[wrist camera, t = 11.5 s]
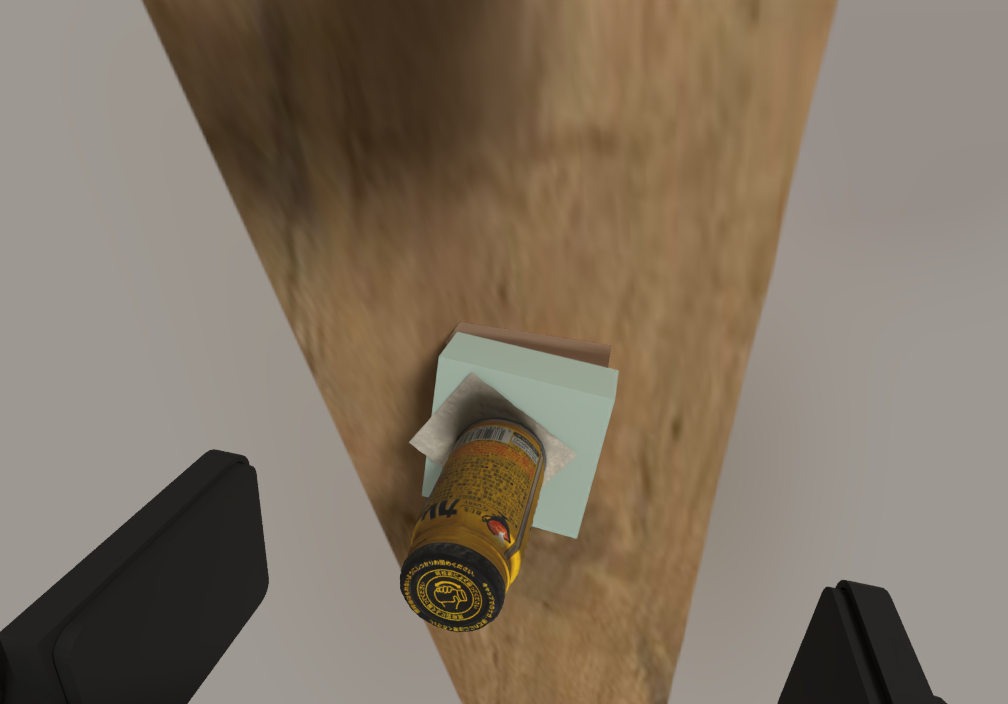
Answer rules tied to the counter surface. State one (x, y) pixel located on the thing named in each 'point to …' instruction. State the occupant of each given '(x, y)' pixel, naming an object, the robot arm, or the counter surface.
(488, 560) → the condiment
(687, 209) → the counter surface
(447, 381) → the top block
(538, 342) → the bottom block
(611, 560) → the counter surface
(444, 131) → the counter surface
